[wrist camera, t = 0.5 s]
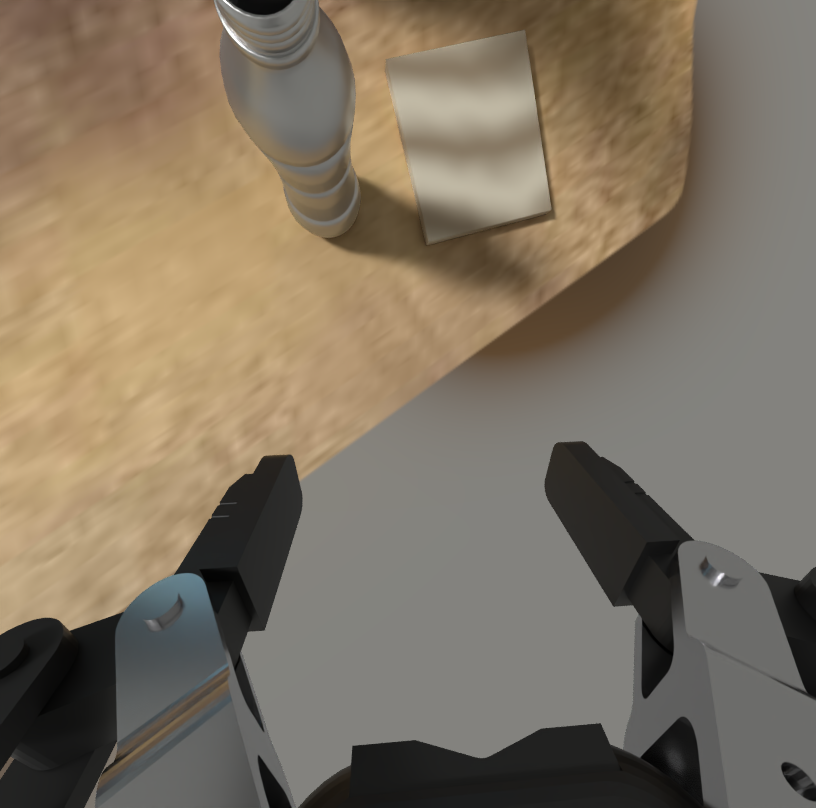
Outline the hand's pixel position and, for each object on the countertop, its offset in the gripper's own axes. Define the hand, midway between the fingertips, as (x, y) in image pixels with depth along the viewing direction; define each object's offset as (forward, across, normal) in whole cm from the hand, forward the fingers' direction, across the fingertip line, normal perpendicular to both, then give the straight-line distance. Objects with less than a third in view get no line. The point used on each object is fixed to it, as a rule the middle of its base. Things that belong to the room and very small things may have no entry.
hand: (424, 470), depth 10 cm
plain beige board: (+30, -8, -14) cm, 34 cm away
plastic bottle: (+28, +6, -9) cm, 30 cm away
